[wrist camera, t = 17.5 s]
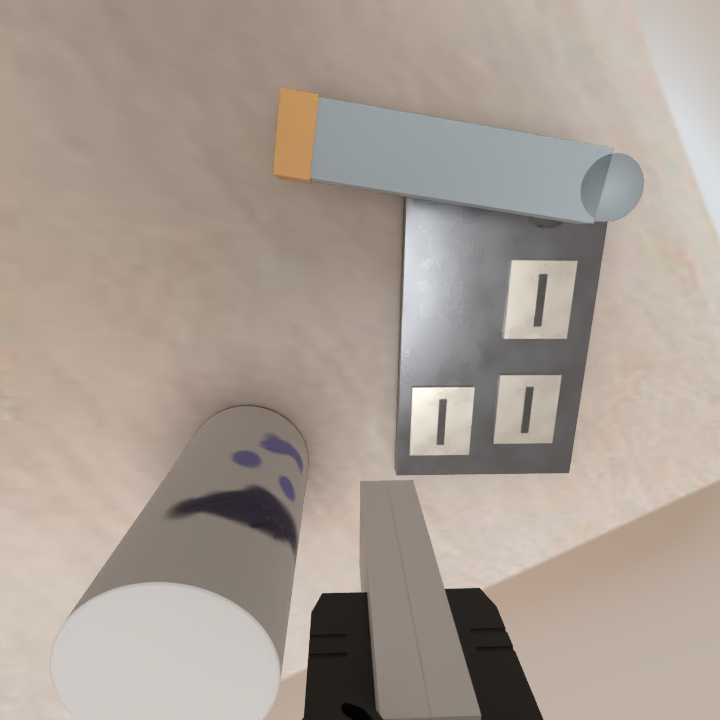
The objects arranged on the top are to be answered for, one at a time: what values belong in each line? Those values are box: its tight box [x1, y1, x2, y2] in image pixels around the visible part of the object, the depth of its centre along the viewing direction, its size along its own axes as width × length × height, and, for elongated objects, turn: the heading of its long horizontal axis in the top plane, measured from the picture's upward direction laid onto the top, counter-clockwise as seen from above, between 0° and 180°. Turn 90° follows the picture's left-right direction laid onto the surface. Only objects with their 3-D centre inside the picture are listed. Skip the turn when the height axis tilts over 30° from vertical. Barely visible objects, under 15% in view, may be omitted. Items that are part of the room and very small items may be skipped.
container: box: [50, 406, 309, 720], centre depth 30 cm, size 10×10×20 cm
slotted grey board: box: [395, 197, 608, 475], centre depth 36 cm, size 24×15×2 cm, turn 179°
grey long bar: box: [273, 87, 644, 224], centre depth 26 cm, size 21×4×2 cm, turn 82°
